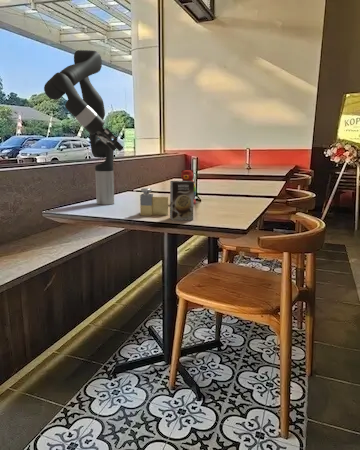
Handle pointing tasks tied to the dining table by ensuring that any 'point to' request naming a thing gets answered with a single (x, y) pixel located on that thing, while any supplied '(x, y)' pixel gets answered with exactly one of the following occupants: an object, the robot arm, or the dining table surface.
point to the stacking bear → (188, 179)
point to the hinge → (153, 205)
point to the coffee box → (181, 200)
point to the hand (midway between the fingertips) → (118, 149)
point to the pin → (146, 191)
